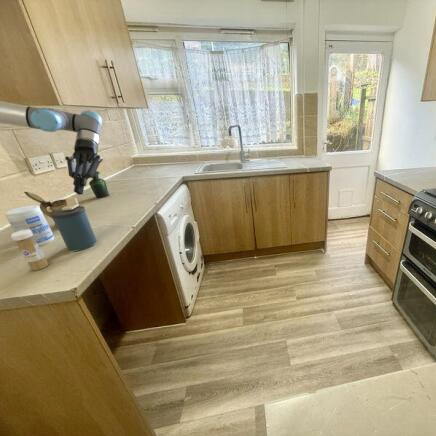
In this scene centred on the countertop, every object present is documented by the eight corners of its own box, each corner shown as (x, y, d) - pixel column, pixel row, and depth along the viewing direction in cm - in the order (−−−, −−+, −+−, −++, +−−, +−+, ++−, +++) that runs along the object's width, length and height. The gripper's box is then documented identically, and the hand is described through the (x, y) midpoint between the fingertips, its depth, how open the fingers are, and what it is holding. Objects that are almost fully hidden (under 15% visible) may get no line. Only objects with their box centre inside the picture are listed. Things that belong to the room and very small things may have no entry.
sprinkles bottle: (28, 272, 80) (7, 236, 75) (35, 265, 84) (15, 230, 79) (46, 268, 82) (26, 233, 76) (51, 261, 86) (33, 227, 80)
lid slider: (69, 206, 93) (66, 198, 91) (79, 205, 93) (75, 197, 92) (62, 210, 89) (58, 202, 88) (71, 209, 89) (68, 201, 88)
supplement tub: (45, 246, 96) (26, 212, 89) (17, 250, 94) (-4, 216, 88) (60, 235, 104) (44, 203, 98) (35, 238, 102) (17, 206, 96)
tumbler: (77, 241, 99) (61, 206, 93) (102, 239, 101) (89, 204, 95) (61, 254, 91) (43, 216, 84) (89, 251, 92) (74, 213, 86)
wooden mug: (45, 225, 115) (26, 189, 108) (81, 217, 122) (65, 183, 115) (41, 232, 108) (21, 194, 101) (79, 223, 115) (63, 187, 108)
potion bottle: (94, 197, 154) (83, 168, 146) (109, 193, 159) (99, 166, 151) (95, 200, 148) (83, 170, 141) (111, 196, 153) (100, 168, 145)
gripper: (109, 148, 108) (102, 195, 100) (76, 150, 106) (66, 198, 98) (98, 137, 102) (90, 187, 93) (63, 138, 99) (51, 189, 91)
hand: (78, 192), depth 96 cm, fingers closed
